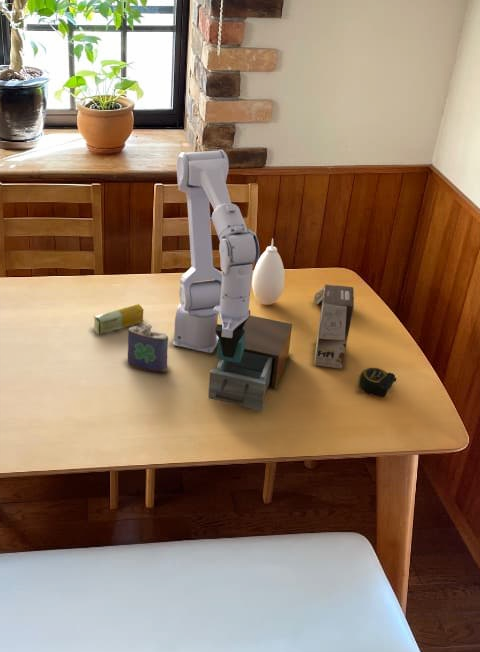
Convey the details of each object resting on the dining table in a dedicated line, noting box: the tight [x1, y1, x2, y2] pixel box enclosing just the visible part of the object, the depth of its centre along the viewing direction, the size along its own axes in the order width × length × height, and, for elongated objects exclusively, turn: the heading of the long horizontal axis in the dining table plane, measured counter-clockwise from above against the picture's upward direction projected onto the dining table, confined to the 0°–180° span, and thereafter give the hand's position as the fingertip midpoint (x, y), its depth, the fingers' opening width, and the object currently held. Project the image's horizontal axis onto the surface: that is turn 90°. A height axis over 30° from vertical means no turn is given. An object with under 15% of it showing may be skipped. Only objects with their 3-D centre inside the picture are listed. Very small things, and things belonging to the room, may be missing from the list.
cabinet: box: [218, 314, 293, 390], centre depth 175 cm, size 14×13×9 cm
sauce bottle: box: [251, 237, 286, 306], centre depth 195 cm, size 8×8×18 cm
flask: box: [127, 324, 169, 374], centre depth 173 cm, size 9×3×11 cm, turn 68°
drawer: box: [207, 352, 275, 412], centre depth 165 cm, size 18×11×7 cm, turn 161°
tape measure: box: [358, 367, 398, 398], centre depth 170 cm, size 7×7×4 cm
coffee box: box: [314, 284, 355, 370], centre depth 177 cm, size 9×6×16 cm
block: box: [216, 331, 246, 363], centre depth 163 cm, size 5×5×5 cm
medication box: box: [93, 303, 145, 336], centre depth 188 cm, size 12×3×4 cm, turn 120°
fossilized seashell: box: [313, 285, 325, 307], centre depth 198 cm, size 8×7×10 cm
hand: (230, 349), depth 164 cm, fingers closed on block, 5 cm apart
